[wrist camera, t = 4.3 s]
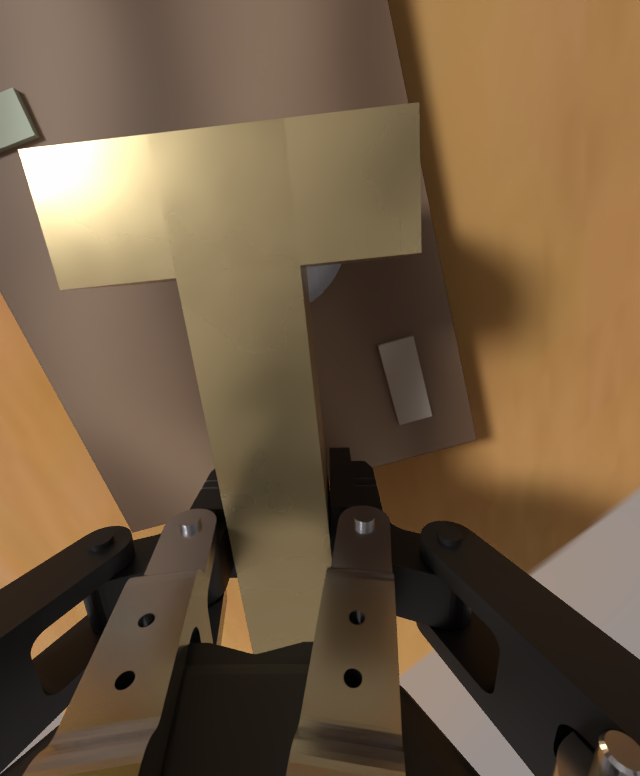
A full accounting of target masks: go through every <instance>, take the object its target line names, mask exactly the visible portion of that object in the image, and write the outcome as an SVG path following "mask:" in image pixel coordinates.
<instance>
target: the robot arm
mask: <svg viewBox="0 0 640 776" xmlns="http://www.w3.org/2000/svg"><path fill="white" fill-rule="evenodd" d="M329 460H330V504H331V542H332V552H333V557H332V563H331V567H327V570H326V574H325V579H324V585H323V591H322V597H321V602H320V608H319V614H318V619H317V625H316V631H315V636H314V642H301V643H297V644H293V645H290V646H286V647H282V648H278V649H274V650H271V651H267V652H263V653H259V654H250V653H246V652H242V651H238V650H235V649H231V648H227V647H224V646H221V641H222V633H223V626H224V618H225V611H226V604H227V592H226V587H227V584H228V581H229V578H237V573H236V568H235V563H234V558H233V553H232V548H231V543H230V539H229V534H228V529H227V524H226V519H225V514H224V509H223V504H222V500H221V495H220V490H219V485H218V480H217V475H216V470H215V469H214V470H212V471H211V473H210V474H209V476H208V478H207V480H206V482H205V483H204V485H203V487H202V489H201V490H200V492H199V494H198V495H197V497H196V499H195V501H194V502H193V504H192V506H191V508H190V510H187V511H184V512H181V513H179V514H177V515H175V516H174V517H172V518H171V519H170V520H169V521H168V522H167V523H166V525H165V526H164V529H163V531H162V533H161V534H158V535H154V536H150V537H146V538H142V539H137V540H133V538H132V534H131V531H130V530H129V529H128V528H126V527H123V526H111V527H105V528H102V529H99V530H96V531H94V532H92V533H90V534H88V535H86V536H84V537H83V538H81V539H80V540H78V541H77V542H75V543H73V544H72V545H70V546H69V547H67V548H65V549H64V550H62V551H61V552H59V553H57V554H56V555H54V556H53V557H51V558H50V559H48V560H46V561H45V562H43V563H42V564H40V565H38V566H37V567H35V568H34V569H32V570H30V571H29V572H27V573H26V574H24V575H23V576H21V577H19V578H18V579H16V580H15V581H13V582H11V583H10V584H8V585H7V586H5V587H4V588H2V589H0V772H1V771H2V770H4V769H5V768H6V767H7V766H8V764H10V763H11V762H12V761H13V760H14V759H15V758H16V757H17V756H18V755H19V754H20V753H21V752H22V751H23V750H24V749H25V748H26V747H27V746H28V745H29V744H30V743H31V742H32V741H33V740H34V739H35V738H36V737H37V736H38V735H39V734H40V733H41V732H42V731H43V730H44V729H45V728H46V727H47V726H48V725H49V724H50V723H51V722H52V721H53V720H54V719H55V718H56V717H57V716H58V715H59V714H60V713H61V712H62V711H63V710H64V709H65V708H66V707H67V706H68V705H69V706H68V708H67V710H66V712H65V714H64V716H63V719H62V721H61V723H60V725H58V726H57V727H56V728H55V729H54V730H53V731H51V732H50V733H49V734H48V735H47V736H45V737H44V738H43V739H42V740H41V741H39V742H38V743H37V744H36V745H35V746H33V747H32V748H31V749H30V750H29V751H27V752H26V753H25V754H24V755H23V756H21V757H20V758H19V759H18V760H17V761H16V762H14V763H13V764H12V765H11V766H10V767H8V768H7V769H6V770H5V771H4V772H2V773H1V774H0V776H480V775H479V774H478V773H477V771H476V770H475V769H474V768H473V767H472V766H471V765H470V763H469V762H468V761H467V760H466V759H465V758H464V757H463V755H462V754H461V753H460V752H459V751H458V750H457V749H456V747H455V746H454V745H453V744H452V743H451V742H450V741H449V739H448V738H447V737H446V736H445V735H444V734H443V732H442V731H441V730H440V729H439V728H438V727H437V726H436V724H435V723H434V722H433V721H432V720H431V719H430V718H429V716H428V715H427V714H426V713H425V712H424V711H423V710H422V708H421V707H420V706H419V705H418V704H417V703H416V701H415V700H414V699H413V698H412V697H411V696H410V695H409V694H408V692H407V691H406V690H405V689H404V688H403V687H402V686H400V685H399V664H398V644H397V624H396V616H399V617H402V618H406V619H409V620H413V621H416V623H417V626H418V628H419V630H420V632H421V633H422V634H423V636H424V637H425V638H426V639H427V641H428V642H429V643H430V644H431V646H432V647H433V648H434V649H435V651H436V652H437V653H438V654H439V656H440V657H441V658H442V659H443V661H444V662H445V663H446V664H447V666H448V667H449V668H450V669H451V671H452V672H453V673H454V675H455V676H456V677H457V678H458V680H459V681H460V682H461V683H462V685H463V686H464V687H465V688H466V690H467V691H468V692H469V693H470V695H471V696H472V697H473V698H474V700H475V701H476V702H477V704H478V705H479V706H480V707H481V709H482V710H483V711H484V712H485V714H486V715H487V716H488V717H489V718H490V720H491V721H492V722H493V723H494V725H495V726H496V727H497V729H498V730H499V731H500V732H501V734H502V735H503V736H504V737H505V739H506V740H507V741H508V743H509V744H510V745H511V746H512V747H513V749H514V750H515V751H516V753H517V754H518V755H519V756H520V758H521V759H522V760H523V761H524V763H525V764H526V765H527V766H528V768H529V769H530V770H531V771H532V773H533V774H534V775H535V776H640V660H639V659H638V658H637V657H636V656H634V655H633V654H631V653H630V652H629V651H628V650H626V649H625V648H624V647H623V646H621V645H620V644H619V643H617V642H616V641H615V640H613V639H612V638H611V637H609V636H608V635H607V634H606V633H604V632H603V631H602V630H600V629H599V628H598V627H596V626H595V625H594V624H592V623H591V622H590V621H588V620H587V619H586V618H585V617H583V616H582V615H581V614H579V613H578V612H577V611H575V610H574V609H573V608H571V607H570V606H569V605H568V604H566V603H565V602H564V601H562V600H561V599H560V598H558V597H557V596H556V595H554V594H553V593H552V592H550V591H549V590H548V589H547V588H545V587H544V586H543V585H541V584H540V583H539V582H537V581H536V580H535V579H533V578H532V577H531V576H529V575H528V574H527V573H526V572H524V571H523V570H522V569H520V568H519V567H518V566H516V565H515V564H514V563H512V562H511V561H510V560H509V559H507V558H506V557H505V556H503V555H502V554H501V553H499V552H498V551H497V550H495V549H494V548H493V547H491V546H490V545H489V544H488V543H486V542H485V541H484V540H482V539H481V538H480V537H478V536H477V535H476V534H474V533H473V532H472V531H471V530H469V529H468V528H466V527H464V526H462V525H460V524H457V523H454V522H449V521H436V522H432V523H429V524H427V525H426V526H425V527H424V528H423V529H422V531H421V534H419V533H415V532H410V531H406V530H403V529H400V528H398V527H396V526H394V525H393V524H391V523H390V520H389V518H388V516H387V515H386V514H385V513H384V512H383V510H382V506H381V502H380V498H379V494H378V489H377V486H376V481H375V478H374V473H373V469H372V467H371V466H370V465H369V464H368V463H367V462H365V461H351V456H350V449H349V447H342V448H329ZM82 600H83V601H84V604H85V608H86V611H87V616H85V617H84V618H83V619H82V620H81V621H79V622H78V623H77V624H76V625H74V626H73V627H72V628H71V629H70V630H68V631H67V632H66V633H65V634H63V635H62V636H61V637H60V638H59V639H57V640H56V641H55V642H54V643H52V644H51V645H50V646H49V647H48V648H46V649H45V650H44V651H43V652H41V653H40V654H39V655H38V656H36V657H35V658H34V659H33V660H32V659H31V648H32V646H33V643H34V642H35V640H36V639H37V637H38V636H39V635H40V634H41V633H42V632H43V631H44V630H45V629H46V628H48V627H49V626H50V625H51V624H53V623H54V622H55V621H57V620H58V619H59V618H60V617H62V616H63V615H64V614H66V613H67V612H68V611H70V610H71V609H72V608H73V607H75V606H76V605H77V604H79V603H80V602H81V601H82Z"/></svg>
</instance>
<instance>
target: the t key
mask: <svg viewBox="0 0 640 776" xmlns="http://www.w3.org/2000/svg"><path fill="white" fill-rule="evenodd" d="M18 151H19V154H20V157H21V161H22V164H23V167H24V171H25V174H26V177H27V181H28V184H29V188H30V191H31V194H32V198H33V201H34V204H35V208H36V211H37V214H38V218H39V221H40V225H41V228H42V231H43V235H44V238H45V241H46V245H47V248H48V251H49V255H50V258H51V261H52V265H53V268H54V272H55V275H56V278H57V282H58V285H59V288H60V290H69V289H84V288H98V287H113V286H128V285H140V284H149V283H159V282H169V281H177V285H178V290H179V295H180V300H181V304H182V309H183V314H184V319H185V324H186V329H187V334H188V339H189V344H190V348H191V353H192V358H193V363H194V368H195V373H196V378H197V383H198V387H199V392H200V397H201V402H202V407H203V412H204V417H205V422H206V426H207V431H208V436H209V441H210V446H211V451H212V456H213V461H214V465H215V470H216V475H217V480H218V485H219V490H220V495H221V500H222V504H223V509H224V514H225V519H226V524H227V529H228V534H229V539H230V543H231V548H232V553H233V558H234V563H235V568H236V573H237V578H238V582H239V587H240V592H241V597H242V602H243V607H244V612H245V617H246V621H247V626H248V631H249V636H250V641H251V646H252V651H253V654H259V653H263V652H267V651H271V650H274V649H278V648H282V647H286V646H290V645H293V644H297V643H301V642H314V636H315V631H316V625H317V619H318V614H319V608H320V602H321V597H322V591H323V585H324V579H325V574H326V570H327V567H331V563H332V557H333V552H332V542H331V504H330V490H329V480H328V471H327V461H326V451H325V442H324V432H323V422H322V413H321V403H320V393H319V384H318V374H317V364H316V355H315V345H314V335H313V326H312V316H311V306H310V303H311V302H312V301H314V300H315V299H316V298H317V297H318V296H320V295H321V294H322V293H323V292H324V291H325V289H326V288H327V287H328V286H329V285H330V283H331V282H332V281H333V279H334V278H335V276H336V274H337V272H338V270H339V269H340V267H341V264H343V263H353V262H362V261H372V260H382V259H391V258H397V257H402V256H407V255H412V254H417V253H422V250H421V185H420V119H419V102H416V103H408V104H399V105H391V106H382V107H374V108H365V109H357V110H348V111H340V112H331V113H323V114H314V115H306V116H297V117H289V118H280V119H272V120H263V121H255V122H246V123H238V124H229V125H221V126H212V127H204V128H195V129H187V130H178V131H170V132H161V133H153V134H144V135H136V136H127V137H119V138H110V139H102V140H93V141H85V142H76V143H68V144H59V145H51V146H42V147H34V148H25V149H18Z"/></svg>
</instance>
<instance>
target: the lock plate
mask: <svg viewBox="0 0 640 776" xmlns="http://www.w3.org/2000/svg"><path fill="white" fill-rule="evenodd" d="M399 104H408V99H407V94H406V89H405V84H404V79H403V74H402V69H401V64H400V59H399V55H398V50H397V45H396V40H395V35H394V30H393V25H392V20H391V15H390V10H389V5H388V0H0V292H1V294H2V296H3V298H4V299H5V301H6V303H7V305H8V307H9V308H10V310H11V312H12V314H13V316H14V318H15V319H16V321H17V323H18V325H19V327H20V329H21V330H22V332H23V334H24V336H25V338H26V339H27V341H28V343H29V345H30V347H31V349H32V350H33V352H34V354H35V356H36V358H37V359H38V361H39V363H40V365H41V367H42V369H43V370H44V372H45V374H46V376H47V378H48V379H49V381H50V383H51V385H52V387H53V389H54V390H55V392H56V394H57V396H58V398H59V400H60V401H61V403H62V405H63V407H64V409H65V410H66V412H67V414H68V416H69V418H70V420H71V421H72V423H73V425H74V427H75V429H76V430H77V432H78V434H79V436H80V438H81V440H82V441H83V443H84V445H85V447H86V449H87V451H88V452H89V454H90V456H91V458H92V460H93V461H94V463H95V465H96V467H97V469H98V471H99V472H100V474H101V476H102V478H103V480H104V481H105V483H106V485H107V487H108V489H109V491H110V492H111V494H112V496H113V498H114V500H115V501H116V503H117V505H118V507H119V509H120V511H121V512H122V514H123V516H124V518H125V520H126V522H127V523H128V525H129V527H130V529H131V531H132V532H137V531H140V530H144V529H148V528H151V527H155V526H159V525H163V524H166V523H167V522H168V521H169V520H170V519H171V518H172V517H174V516H175V515H177V514H179V513H181V512H184V511H187V510H190V508H191V506H192V504H193V502H194V501H195V499H196V497H197V495H198V494H199V492H200V490H201V489H202V487H203V485H204V483H205V482H206V480H207V478H208V476H209V474H210V473H211V471H212V470H214V469H215V465H214V461H213V456H212V451H211V446H210V441H209V436H208V431H207V426H206V422H205V417H204V412H203V407H202V402H201V397H200V392H199V387H198V383H197V378H196V373H195V368H194V363H193V358H192V353H191V348H190V344H189V339H188V334H187V329H186V324H185V319H184V314H183V309H182V304H181V300H180V295H179V290H178V285H177V281H169V282H159V283H149V284H140V285H128V286H113V287H98V288H84V289H69V290H60V288H59V285H58V282H57V278H56V275H55V272H54V268H53V265H52V261H51V258H50V255H49V251H48V248H47V245H46V241H45V238H44V235H43V231H42V228H41V225H40V221H39V218H38V214H37V211H36V208H35V204H34V201H33V198H32V194H31V191H30V188H29V184H28V181H27V177H26V174H25V171H24V167H23V164H22V161H21V157H20V154H19V151H18V149H25V148H34V147H42V146H51V145H59V144H68V143H76V142H85V141H93V140H102V139H110V138H119V137H127V136H136V135H144V134H153V133H161V132H170V131H178V130H187V129H195V128H204V127H212V126H221V125H229V124H238V123H246V122H255V121H263V120H272V119H280V118H289V117H297V116H306V115H314V114H323V113H331V112H340V111H348V110H357V109H365V108H374V107H382V106H391V105H399ZM420 185H421V250H422V253H417V254H412V255H407V256H402V257H397V258H391V259H382V260H372V261H362V262H353V263H343V264H341V267H340V269H339V270H338V272H337V274H336V276H335V278H334V279H333V281H332V282H331V283H330V285H329V286H328V287H327V288H326V289H325V291H324V292H323V293H322V294H321V295H320V296H318V297H317V298H316V299H315V300H314V301H312V302H311V303H310V306H311V316H312V326H313V335H314V345H315V355H316V364H317V374H318V384H319V393H320V403H321V413H322V422H323V432H324V442H325V451H326V461H327V471H328V480H329V479H330V460H329V448H342V447H349V449H350V456H351V461H365V462H367V463H368V464H369V465H370V466H371V467H372V468H374V467H378V466H381V465H385V464H389V463H392V462H396V461H400V460H404V459H407V458H411V457H415V456H418V455H422V454H426V453H430V452H433V451H437V450H441V449H444V448H448V447H452V446H456V445H459V444H463V443H467V442H470V441H474V440H476V435H475V430H474V425H473V420H472V415H471V410H470V405H469V400H468V395H467V390H466V385H465V380H464V375H463V370H462V366H461V361H460V356H459V351H458V346H457V341H456V336H455V331H454V326H453V321H452V316H451V311H450V306H449V301H448V296H447V291H446V287H445V282H444V277H443V272H442V267H441V262H440V257H439V252H438V247H437V242H436V237H435V232H434V227H433V222H432V217H431V212H430V208H429V203H428V198H427V193H426V188H425V183H424V178H423V173H422V168H421V163H420Z"/></svg>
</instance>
